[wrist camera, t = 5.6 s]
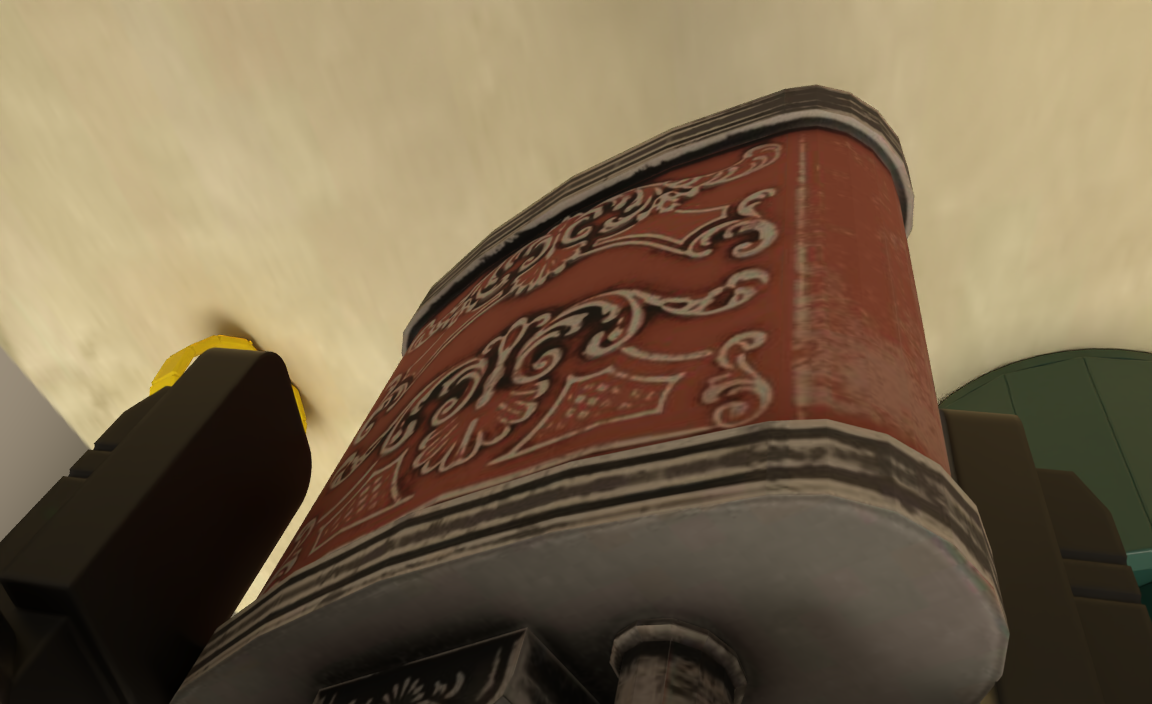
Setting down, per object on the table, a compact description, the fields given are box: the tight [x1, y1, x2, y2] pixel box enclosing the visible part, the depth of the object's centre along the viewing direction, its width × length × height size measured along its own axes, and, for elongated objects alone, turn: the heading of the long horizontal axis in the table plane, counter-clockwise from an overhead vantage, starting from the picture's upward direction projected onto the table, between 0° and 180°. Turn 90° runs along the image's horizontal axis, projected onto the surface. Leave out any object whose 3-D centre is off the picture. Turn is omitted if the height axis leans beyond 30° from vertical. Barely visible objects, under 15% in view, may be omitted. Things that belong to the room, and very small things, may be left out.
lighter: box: [169, 85, 1010, 704], centre depth 10 cm, size 8×3×10 cm, turn 126°
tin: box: [938, 349, 1152, 622], centre depth 28 cm, size 11×11×8 cm
